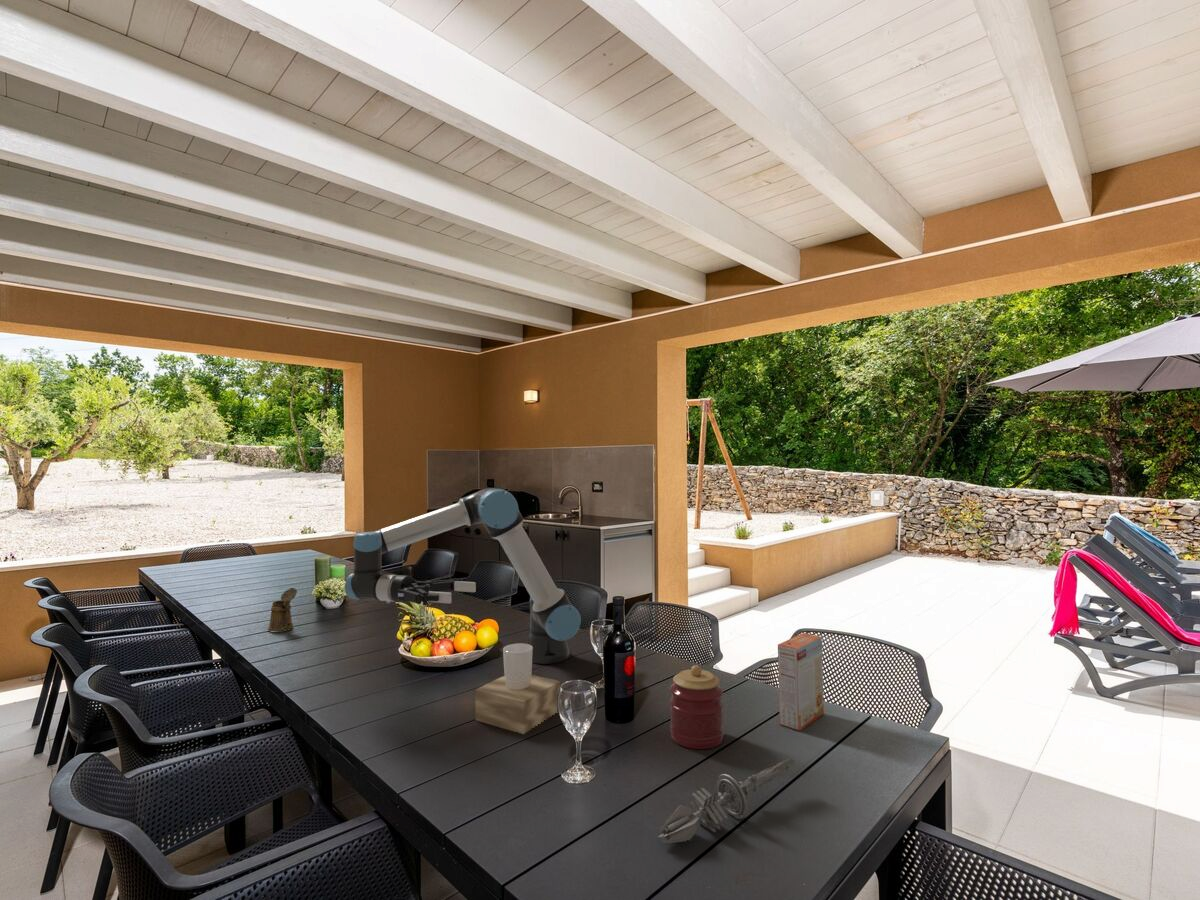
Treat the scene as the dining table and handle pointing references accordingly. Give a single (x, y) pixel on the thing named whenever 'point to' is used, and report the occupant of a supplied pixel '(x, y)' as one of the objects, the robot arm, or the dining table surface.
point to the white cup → (517, 665)
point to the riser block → (516, 704)
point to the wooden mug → (282, 612)
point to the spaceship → (717, 804)
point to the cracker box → (800, 681)
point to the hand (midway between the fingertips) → (463, 592)
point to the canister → (696, 709)
